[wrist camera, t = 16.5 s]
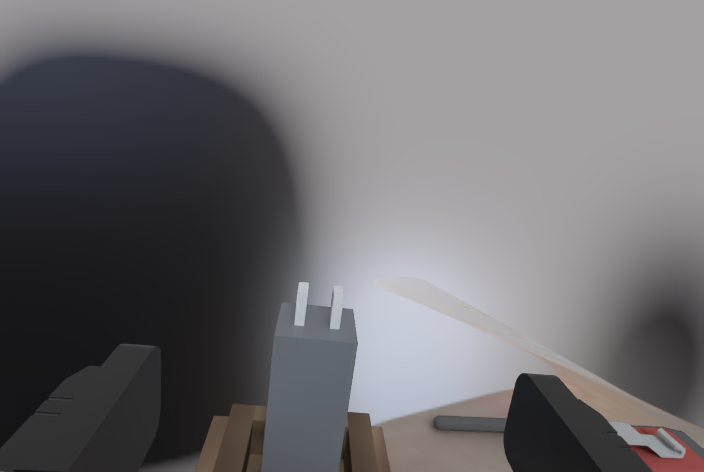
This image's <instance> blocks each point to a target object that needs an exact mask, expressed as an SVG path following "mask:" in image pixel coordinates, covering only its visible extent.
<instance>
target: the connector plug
mask: <svg viewBox="0 0 704 472" xmlns="http://www.w3.org/2000/svg"><path fill="white" fill-rule="evenodd" d="M308 286H309V283H305V282H299V287H298V294H297V303H296V304H295V303H284V302H282V305H281V309H280V313H279V318H278V322H277V326H276V331H275V335H274V344H273V354H272V365H271V375H270V385H269V395H268V405H267V415H266V425H265V435H264V445H263V455H262V466H261V472H339V466H340V459H341V452H342V445H343V439H344V432H345V425H346V418H347V412H348V405H349V398H350V391H351V385H352V378H353V371H354V365H355V358H356V351H357V345H358V342H357V336H356V328H355V320H354V313H353V309H344V308H342V307H343V300H344V292H343V287H342V286H333V293H332V301H331V307H325V306H315V305H306V304H307V296H308Z"/></svg>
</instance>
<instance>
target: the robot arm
mask: <svg viewBox="0 0 704 472" xmlns="http://www.w3.org/2000/svg"><path fill="white" fill-rule="evenodd" d="M160 394H161V352H160V349H159V347H158V346H146V345H132V344H120V345H119V346H118V347H117V348H116V349H115V350H114V352H113V353H112V354H111V355H110V356H109V357H108V359H107V360H106V361H105V362H104V363H103V365H102V366H101V367H98V366H88V367H86V368H85V369H83V370H81V371H80V372H78V373H76V374H74V375H72V376H71V377H69V378H67V379H65V380H64V381H63V382H62V383H61V385H59V387H58V388H57V389H56V390H55V391H54V392H53V393H52V394H51V395H50V396H49V399H48V401H47V400H46V401H44V402H43V404H42V405H41V406H40V407H39V408H38V409H37V410H36V411H35V414H34V416H30V417H29V419H28V420H27V421H26V422H25V423H24V424H23V425H22V426H21V427H20V428H19V429H18V430H17V431H16V433H14V434H13V435H12V437H11V438H10V439H9V440H8V441H7V442H6V443H5V444H4V445H3V446H2V447H1V448H0V472H137V471H138V469H139V468H140V466H141V464H142V462H143V460H144V458H145V456H146V454H147V452H148V450H149V448H150V446H151V444H152V442H153V440H154V437H155V435H156V431H157V428H158V423H159V418H160V405H161V403H160V400H161V395H160ZM504 449H505V454H506V457H507V460H508V462H509V464H510V466H511V468H512V470H513V472H653V471H652V470H651V469H650V467H649V466H648V465H647V464H646V463H645V462H644V461H643V460H642V459H641V458H640V456H639V455H638V454H637V453H636V452H635V451H632V450H631V447H630V445H629V444H628V443H627V442H626V441H625V440H624V439H623V438H622V437H621V436H618V432H617V431H616V430H615V429H614V428H613V427H612V426H611V424H610V423H609V422H608V421H607V420H606V419H605V418H604V417H603V416H602V415H601V414H600V413H598V412H597V411H596V410H594V409H593V408H591V407H590V406H588V405H587V404H585V403H584V402H583V401H581V400H580V399H577V398H576V397H575V396H574V395H573V394H572V393H571V391H570V390H569V389H568V388H567V387H566V386H565V385H564V383H563V382H562V381H561V380H560V379H559V378H558V377H557V376H554V375H540V374H527V373H522V374H520V375H519V377H518V378H517V380H516V383H515V388H514V392H513V396H512V400H511V404H510V408H509V413H508V417H507V421H506V425H505V429H504Z"/></svg>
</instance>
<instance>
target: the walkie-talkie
mask: <svg viewBox="0 0 704 472" xmlns="http://www.w3.org/2000/svg"><path fill="white" fill-rule="evenodd" d="M506 421H507V419H504V418H482V417H460V416H437V417H436V418H435V419H434V425H435V427H436V428H437V429H438V430H453V431H477V432H501V433H504V429H505V425H506ZM609 423H610V424H611V426H612V427H613V428H614V429H615V430H616V431H617V432H618V436H621V437H622V438H623V439H624V440H625V441H626V442H627V443H628V444H629V445H630V447H631V450H632V451H635V452H636V453H637V454H638V455H639V456H640V458H641V459H642V460H643V461H644V462H645V463H646V464H647V465H648V466H649V467H650V469H651V470H652V471H653V472H704V449H703V448H702V447H701V446H699V445H698V444H697V443H696V442H695V441H693V440H692V439H691V438H690V437H689V436H687V435H686V434H685V433H684V432H682V431H677V430H673V429H669V428H666V427H657V426H656V427H653V426H633V425H631V426H630V425H629V424H628V423H625V422H609Z"/></svg>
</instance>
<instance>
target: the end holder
mask: <svg viewBox="0 0 704 472" xmlns="http://www.w3.org/2000/svg"><path fill="white" fill-rule="evenodd" d="M266 415H267V406H258V405H244V404H233V405H232V408H231V412H230V415H229V417H225V416H214V418H213V420H212V423H211V426H210V429H209V432H208V435H207V437H206V440H205V443H204V446H203V449H202V452H201V455H200V457H199V460H198V463H197V466H196V469H195V472H261V466H262V455H263V445H264V435H265V425H266ZM339 472H390V467H389V462H388V457H387V452H386V446H385V441H384V436H383V431H382V427H371V422H370V416H369V414H366V413H353V412H347V418H346V425H345V432H344V439H343V445H342V452H341V459H340V466H339Z"/></svg>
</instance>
